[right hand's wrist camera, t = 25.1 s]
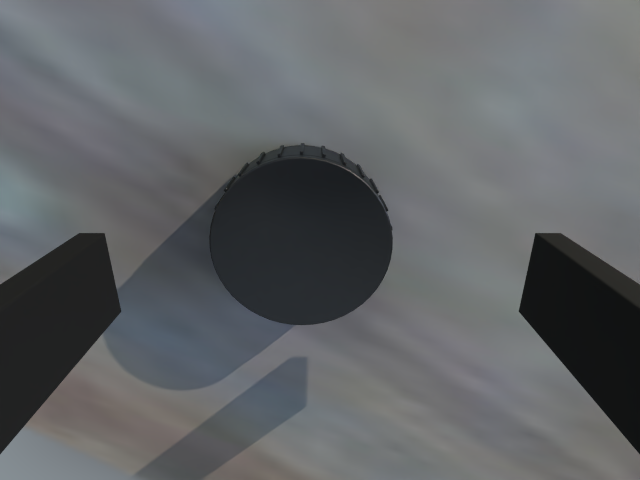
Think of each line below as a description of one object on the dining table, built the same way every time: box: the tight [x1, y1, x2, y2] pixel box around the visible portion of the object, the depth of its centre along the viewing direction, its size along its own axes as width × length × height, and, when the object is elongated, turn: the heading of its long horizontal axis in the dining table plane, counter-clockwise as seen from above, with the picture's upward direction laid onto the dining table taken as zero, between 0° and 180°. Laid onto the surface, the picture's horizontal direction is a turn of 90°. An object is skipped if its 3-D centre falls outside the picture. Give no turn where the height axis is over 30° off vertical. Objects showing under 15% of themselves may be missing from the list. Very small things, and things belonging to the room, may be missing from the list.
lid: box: [210, 143, 393, 325], centre depth 14 cm, size 6×6×2 cm
